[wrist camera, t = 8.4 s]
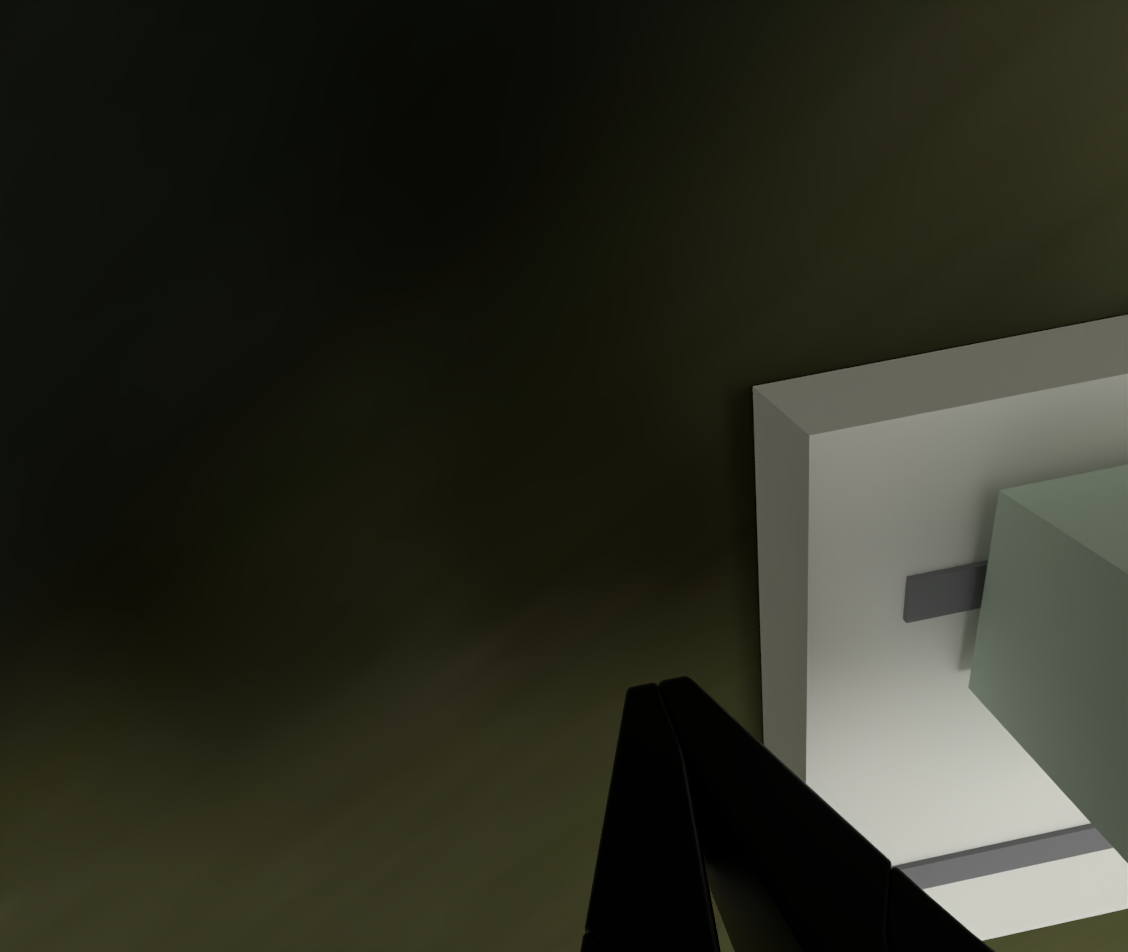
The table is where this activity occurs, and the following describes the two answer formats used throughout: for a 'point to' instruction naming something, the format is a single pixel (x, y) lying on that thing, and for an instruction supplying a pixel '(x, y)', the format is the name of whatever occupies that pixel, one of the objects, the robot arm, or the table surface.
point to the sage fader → (1062, 637)
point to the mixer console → (927, 608)
